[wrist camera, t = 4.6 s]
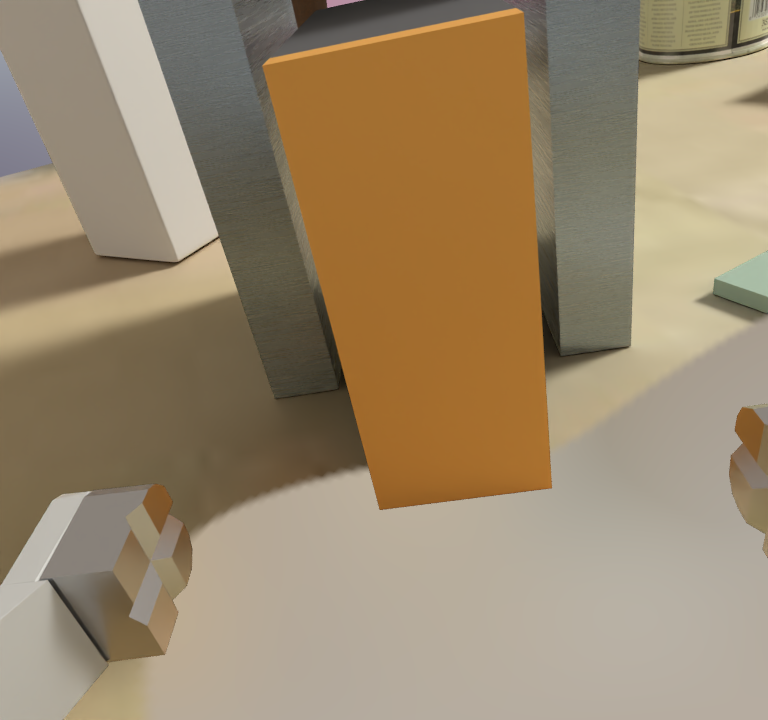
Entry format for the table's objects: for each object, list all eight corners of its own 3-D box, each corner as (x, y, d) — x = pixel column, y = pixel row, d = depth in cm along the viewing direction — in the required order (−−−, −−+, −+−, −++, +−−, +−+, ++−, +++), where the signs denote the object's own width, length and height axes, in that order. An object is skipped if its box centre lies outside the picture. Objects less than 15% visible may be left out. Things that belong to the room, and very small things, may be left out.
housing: (630, 345, 21) (651, -424, 12) (274, 398, 22) (47, -262, 13) (562, 229, 29) (543, -276, 20) (305, 272, 31) (179, -186, 22)
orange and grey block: (551, 488, 17) (523, 12, 11) (379, 510, 17) (262, 65, 11) (485, 261, 28) (454, -28, 22) (383, 278, 29) (326, -1, 23)
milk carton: (180, 210, 43) (47, -147, 33) (261, 212, 39) (141, -188, 29) (95, 257, 38) (-92, -144, 28) (179, 265, 35) (0, -191, 24)
